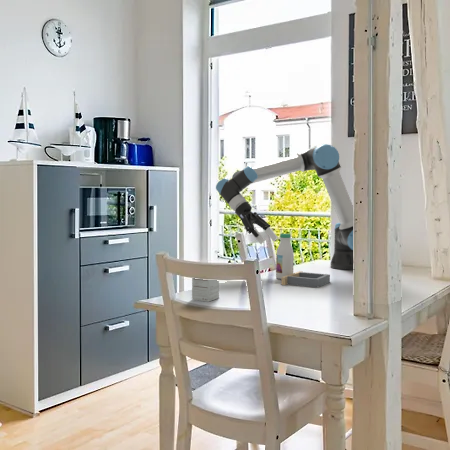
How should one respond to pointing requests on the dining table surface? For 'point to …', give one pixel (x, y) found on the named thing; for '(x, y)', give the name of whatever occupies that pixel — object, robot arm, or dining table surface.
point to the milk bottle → (284, 257)
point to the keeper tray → (306, 279)
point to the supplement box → (205, 289)
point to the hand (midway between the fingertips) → (269, 240)
